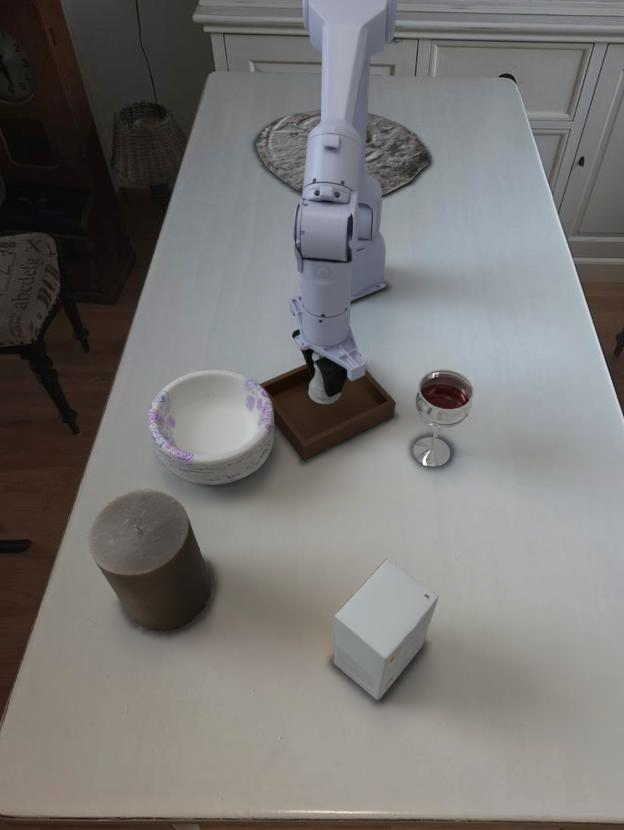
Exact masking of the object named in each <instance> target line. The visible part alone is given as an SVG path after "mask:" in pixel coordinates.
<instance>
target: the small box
mask: <svg viewBox="0 0 624 830" xmlns="http://www.w3.org/2000/svg"><path fill="white" fill-rule="evenodd" d="M439 597H440V595H439V594H437V593H436V592H434V591H432V590H431V589H430V588H428V587H427V586H426V585H424V584H423V583H422V582H421V581H419V580H418V579H416V578H415V577H414V576H412V575H411V574H410V573H408V572H407V571H405V570H404V569H402V568H401V567H400V566H399V565H397V564H396V563H394V562H393V561H392V560H390V559H389V558H385V559H384V560H383V561H382V562H381V563H380V565H379V566H378V567H377V568H376V569H375V570H374V571H373V572H372V573H371V575H370V576H369V577H368V578H367V579H366V580H365V581H364V582H363V583H362V584H361V585H360V587H359V588H357V590H356V591H355V592H354V593H353V594H352V595H351V597H350V598H348V600H346V602H345V603H344V604H343V605H342V606H341V607H340V609H338V610H337V612H336V613H335V614H333V616H334V617H333V664H334V665H335V666H336V667H338V669H340V670H341V671H342V672H343V673H344V674H345V675H347V676H348V677H349V678H351V680H353V681H354V682H355V683H356V684H357V685H358V686H360V687H361V688H362V689H363V690H364V691H366V693H368V694H369V695H370V696H372V698H374V699H375V700H376V701H380V700H381V698H382V697H383V696H384V695H385V694H386V692H387V691H388V690H389V688H390V687H391V686H392V685H393V684H394V682H395V681H396V680H397V679H398V678H399V676H400V675H401V674H402V672H404V670H405V669H406V667H407V666H408V665H409V664H410V663H411V661H412V660H413V659H414V657H415V656H416V655H417V653H419V651H420V650H421V648H422V647H423V644H424V642H425V638H426V635H427V632H428V629H429V626H430V623H431V621H432V618H433V615H434V612H435V609H436V607H437V603H438V600H439Z"/></svg>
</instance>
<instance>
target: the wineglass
mask: <svg viewBox="0 0 624 830" xmlns="http://www.w3.org/2000/svg"><path fill="white" fill-rule="evenodd" d="M417 385H418V386H417V387H418V388H417V392H416V395H415V408H416V410H417V413H418V415H419V417H420V418H421V419H422V421H423V422H425V423H427V424H428V425H430V426H433V427H434V429H433V434H432V437H431V436H428V437H422V438H421V439H418V440H417V441H416V442H415V444H414V445H413V448H412V449H413V450H412V451H413V455H414V458H415V459H416V460H417V461H418V462H419V463H420V464H422V465H424V466H426V467H441V466H442V465H444V464H446V463H447V462H448V461H449V460H450V457H451V450H450V447H449V445H447V443H446V442H445V441H443V439H440V438H438V436H439V433H440V430H441V429H447V428H449V429H450V428H454V427H455V426H457V425H460V424H461V423H462V422H464V420H465V419H466V418H467V417H468V416H469V414H470V411H471V408H472V401H473V398H474V396H475V390H474V386H473V384H472V382H471V381H470V380H469V379H468V378H467V377H466V376H465V375H463V374H461V373H460V372H458V371H454V370H451V369H435V370H431V371H429V372H427V373H425V375H423V376H422V377H421V378H420V379H419V382H418V384H417Z"/></svg>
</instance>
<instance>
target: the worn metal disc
mask: <svg viewBox="0 0 624 830" xmlns="http://www.w3.org/2000/svg"><path fill="white" fill-rule="evenodd" d="M320 122H321V109H318V110H317V109H316V110H313V111H308V112H299V113H294V114H290V115H287V116H284V117H280V118H279V119H276V120H274V121H273V122H271V123H270V124H267V126H265V127H264V128H263V129H262V130H261V131H260V133H258V135H257V137H256V140H255V142H254V143H255V146H256V150H257V152H258V153H257V154H258V155H259V157H260V159H261V161H262V162H263V163H264V165H265V167H266V168H267V169H268V170H269V171H270V172H271V173H272V174H273V175H275V176H276V177H277V178H278V179H280V180H281V181H282V182H284V183H286V184H287V185H289V186H290V187H291V188H293V189H295V190H296V191H297V192H300V193H302V192H303V182H304V172H305V162H306V152H307V142H308V135H309V133H310V132H311V130H312V129H314V128H315V127H316V126H317V125H318V124H319V123H320ZM429 163H430V157H429V153H427V150H426V148H425V146H424V145H423V143H422V142H421V141H420V140H419V139H418V137H417V136H416V135H415V134H414V133H413V132H412V131H411V130H408V129H407V128H405V127H404V126H403V125H401V124H399V123H396V121H393V120H389V119H387V118H385V117H383V116H380V115H376V114H374V113H373V114H372V113H369V112H368V115H367V133H366V151H365V170H364V171H365V172H366V173H367V174H369V175H370V176H371V177H373V178H374V179H375V180H377V181H378V182H379V183H380V184H381V188H382V196H384V195H387V194H389V193H392V192H393V191H395V190H397V189H398V188H400V187H402V186H404V185H405V186H406V185H408V184H410V183H411V182H412V180H413V179H414V178H415V177H416V176H417V174H419V172H421V171H422V170H423V169H424V168H425V167H426V166H428V164H429Z"/></svg>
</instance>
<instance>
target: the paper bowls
mask: <svg viewBox="0 0 624 830" xmlns="http://www.w3.org/2000/svg"><path fill="white" fill-rule="evenodd" d="M259 384H260V383H258V382H257V381H255V380H254V379H253V378H251V377H249V376H247V375H244V374H242V373H240V372H236V371H232V370H228V369H217V368H216V369H204V370H198V371H197V370H196V371H193V372H190V373H187V374H184V375H182V376H180V377H177V378H175V379H174V380H172V381H171V382H169V383H168V384H167V385H165V387H163V388H162V389H161V391H159V392H158V393H157V395H156V396H155V397H154V399H153V401H152V403H151V404H150V407H149V411H148V418H147V425H148V432H149V435H150V439H151V441H152V444H153V447H154V449H155V453H156V454H157V456H158V458H159V460H160V462H161V463H162V464H163V466H164V467H165V468H166V469H167V470H168V471H169V472H171V473H172V474H174V475H175V476H176V477H178V478H180V479H181V480H183V481H185V482H190V483H193V484H194V483H195V484H199V485H203V486H204V485H207V486H218V485H219V486H220V485H225V484H231V483H234V482H236V481H239V480H241V479H244V478H246V477H248V476H249V475H251V474H252V473H254V472H256V471H258V469H260V467H262V465H264V463H265V462H266V461H267V459H268V458H269V456H270V453H271V452H272V450H273V447H274V443H275V442H274V441H275V432H276V431H275V429H276V428H275V422H274V413H273V406H272V402H271V400H270V398H269V396H268V394H267V393H266V391H265V390H264V389H263V388H262V387H261V386H260V385H259Z"/></svg>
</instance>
